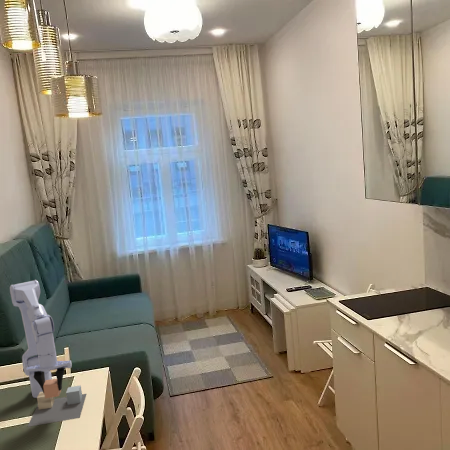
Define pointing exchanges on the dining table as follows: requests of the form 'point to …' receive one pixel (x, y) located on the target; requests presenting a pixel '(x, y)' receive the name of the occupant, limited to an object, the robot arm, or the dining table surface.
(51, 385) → the terracotta block
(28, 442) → the dining table surface
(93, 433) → the dining table surface
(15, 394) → the dining table surface
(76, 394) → the slate block
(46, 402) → the birch block
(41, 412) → the mat
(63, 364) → the robot arm
